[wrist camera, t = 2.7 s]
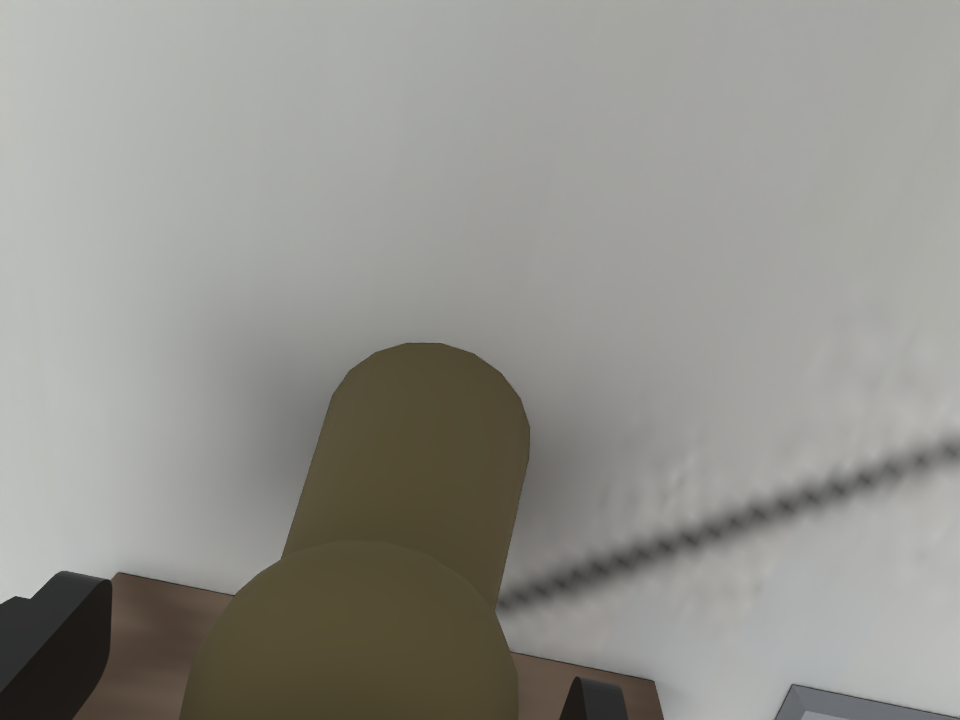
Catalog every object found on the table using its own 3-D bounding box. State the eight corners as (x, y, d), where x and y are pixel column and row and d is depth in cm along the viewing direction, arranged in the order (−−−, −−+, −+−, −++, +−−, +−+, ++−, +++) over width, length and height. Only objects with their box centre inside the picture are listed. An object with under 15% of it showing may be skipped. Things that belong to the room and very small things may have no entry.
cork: (431, 562, 20) (348, 1006, 10) (283, 437, 19) (17, 800, 9) (574, 442, 19) (649, 828, 9) (422, 298, 18) (295, 545, 7)
